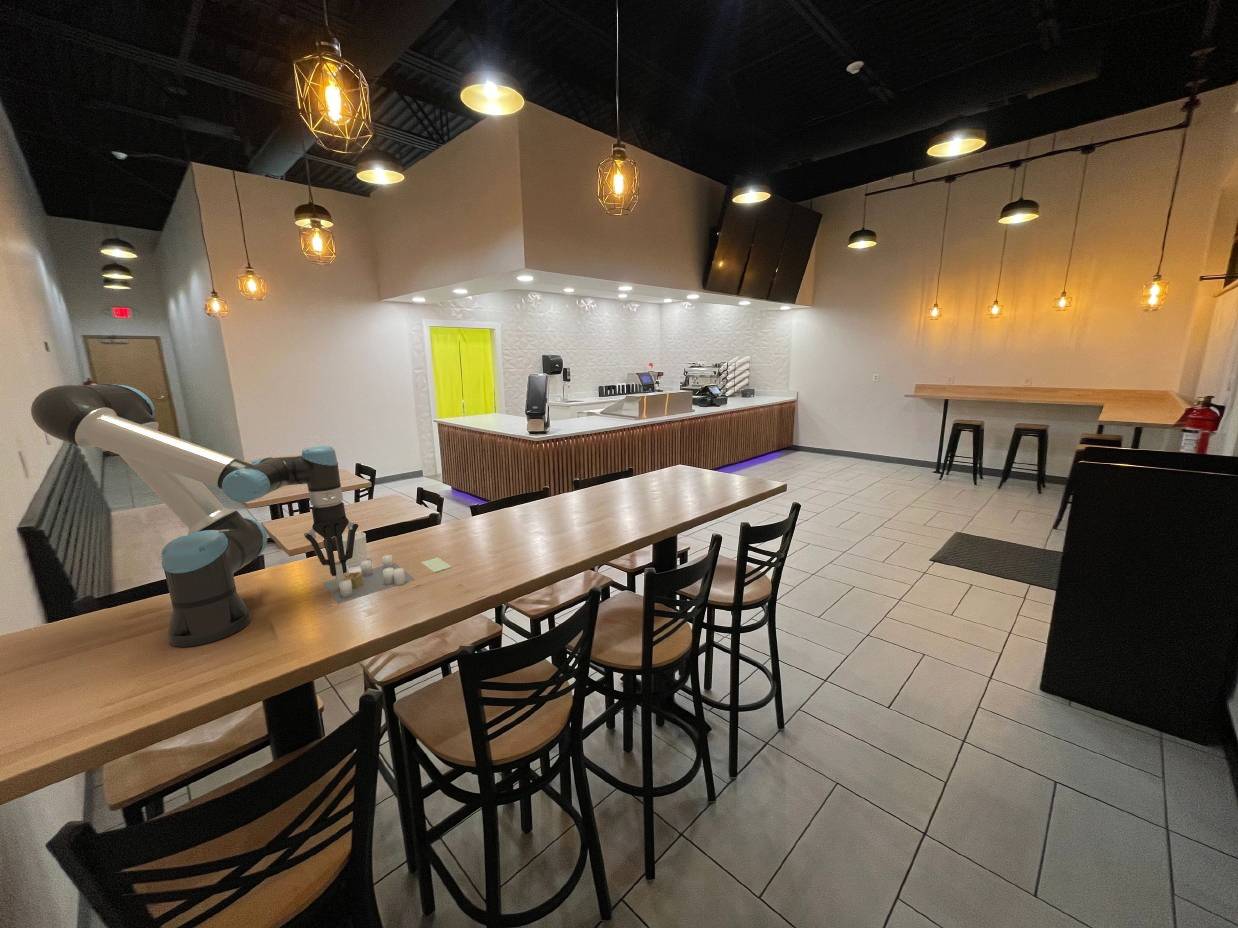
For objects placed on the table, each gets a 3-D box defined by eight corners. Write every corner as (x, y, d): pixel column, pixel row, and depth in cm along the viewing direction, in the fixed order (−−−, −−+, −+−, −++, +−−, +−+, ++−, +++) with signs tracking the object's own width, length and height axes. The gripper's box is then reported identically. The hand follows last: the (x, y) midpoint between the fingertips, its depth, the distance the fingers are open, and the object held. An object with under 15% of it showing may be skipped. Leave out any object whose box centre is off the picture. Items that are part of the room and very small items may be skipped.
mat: (412, 579, 139) (412, 578, 139) (400, 568, 147) (399, 568, 147) (451, 567, 147) (451, 566, 147) (437, 558, 155) (437, 557, 155)
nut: (347, 590, 130) (346, 580, 130) (342, 585, 134) (341, 575, 133) (364, 585, 133) (363, 575, 133) (359, 580, 137) (358, 570, 136)
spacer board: (338, 608, 123) (336, 589, 122) (323, 586, 136) (320, 569, 135) (416, 583, 136) (414, 567, 135) (395, 566, 150) (393, 550, 149)
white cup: (348, 572, 146) (343, 542, 144) (337, 567, 150) (332, 537, 148) (373, 564, 152) (369, 535, 150) (362, 559, 156) (358, 530, 154)
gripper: (301, 511, 120) (316, 597, 124) (357, 501, 128) (370, 581, 133) (296, 506, 125) (311, 588, 130) (350, 496, 134) (362, 573, 138)
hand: (340, 584), depth 131 cm, fingers closed
